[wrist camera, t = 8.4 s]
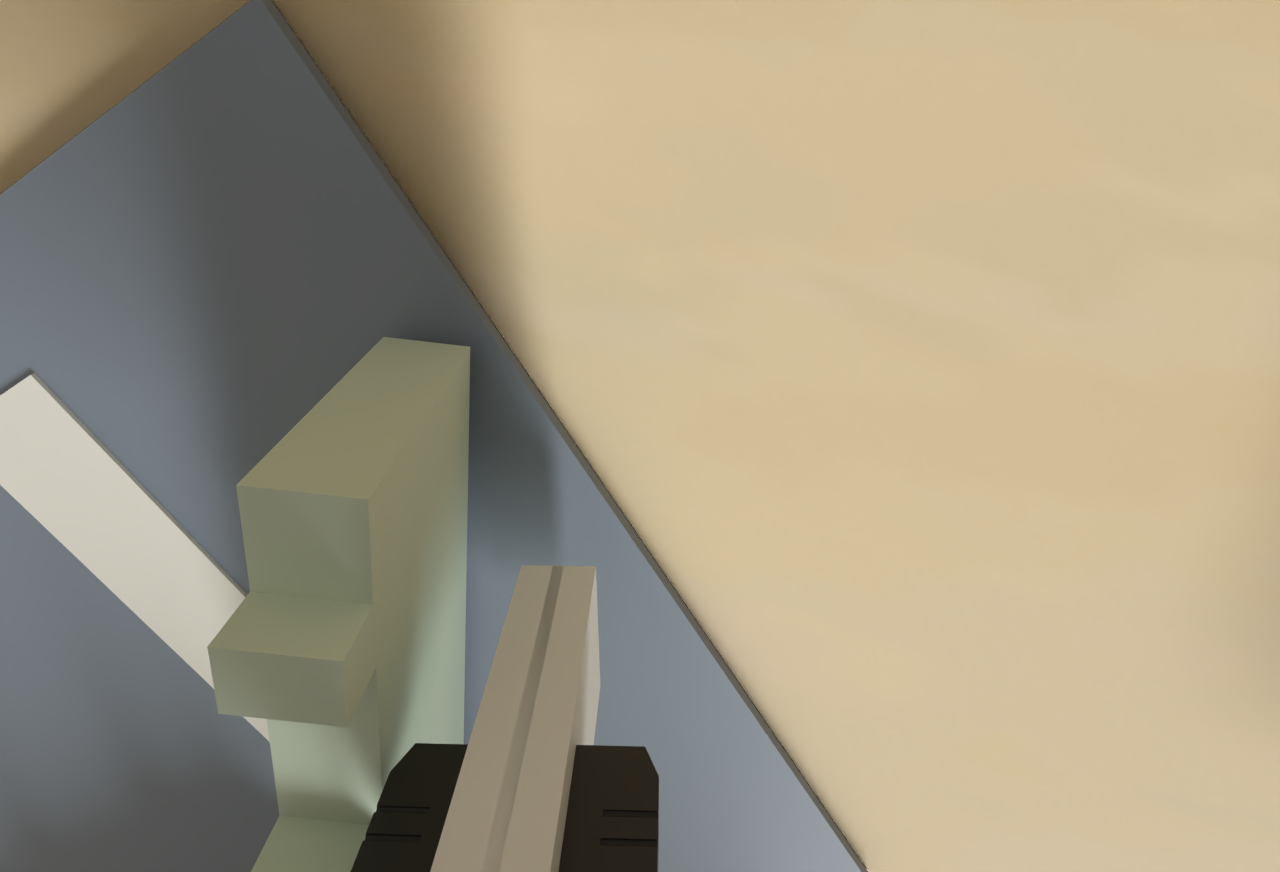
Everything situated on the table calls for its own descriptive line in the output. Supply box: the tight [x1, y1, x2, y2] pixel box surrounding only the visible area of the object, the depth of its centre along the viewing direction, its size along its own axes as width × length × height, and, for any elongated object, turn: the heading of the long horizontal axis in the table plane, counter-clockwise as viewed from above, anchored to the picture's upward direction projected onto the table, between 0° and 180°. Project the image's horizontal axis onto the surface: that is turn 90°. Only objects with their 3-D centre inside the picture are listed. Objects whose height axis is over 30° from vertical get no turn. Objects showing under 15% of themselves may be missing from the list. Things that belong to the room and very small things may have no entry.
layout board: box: [0, 0, 868, 872], centre depth 19 cm, size 25×23×1 cm
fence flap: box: [207, 337, 470, 872], centre depth 14 cm, size 12×2×6 cm, turn 174°
